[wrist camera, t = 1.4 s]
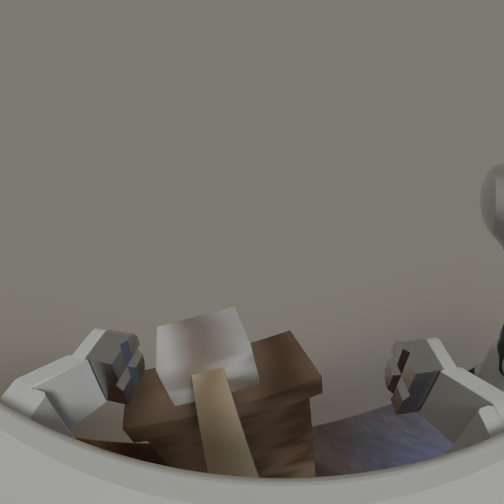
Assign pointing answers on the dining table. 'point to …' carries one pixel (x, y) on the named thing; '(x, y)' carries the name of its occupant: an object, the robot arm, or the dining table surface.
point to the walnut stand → (249, 410)
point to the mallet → (211, 382)
